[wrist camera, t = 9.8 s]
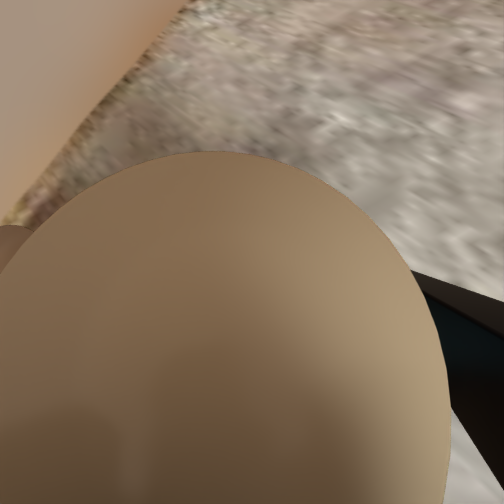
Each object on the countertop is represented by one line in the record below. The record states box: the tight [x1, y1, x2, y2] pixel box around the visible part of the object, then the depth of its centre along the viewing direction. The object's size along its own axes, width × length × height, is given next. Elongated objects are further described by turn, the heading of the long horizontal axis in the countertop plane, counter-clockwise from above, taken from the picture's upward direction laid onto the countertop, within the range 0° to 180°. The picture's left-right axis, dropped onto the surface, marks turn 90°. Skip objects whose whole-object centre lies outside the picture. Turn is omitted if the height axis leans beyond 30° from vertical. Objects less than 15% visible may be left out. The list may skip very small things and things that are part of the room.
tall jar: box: [0, 151, 451, 504], centre depth 10 cm, size 5×5×14 cm
